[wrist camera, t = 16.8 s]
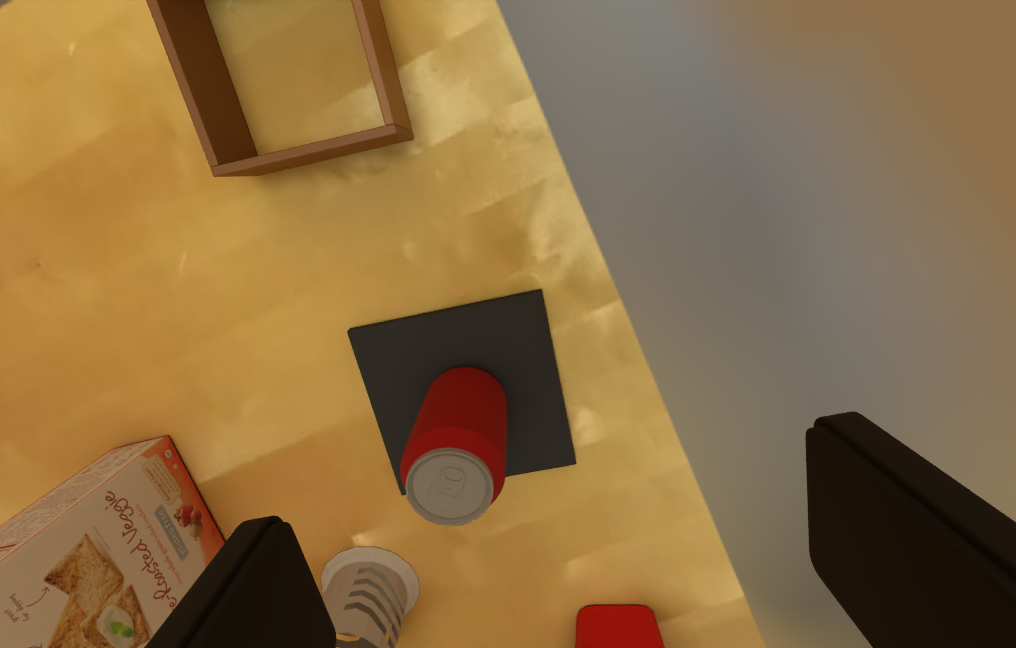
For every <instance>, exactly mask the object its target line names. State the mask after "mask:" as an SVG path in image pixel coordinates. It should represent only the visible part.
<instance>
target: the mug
mask: <svg viewBox="0 0 1016 648" xmlns="http://www.w3.org/2000/svg"><path fill="white" fill-rule="evenodd" d="M576 648H665V647H664V644H663V641H662V637H661V634H660V631H659V628H658V625H657V622H656V619H655V616H654V612H653V611H652V610H650V609H649V608H648V607H645V606H640V605H634V606H588V607H585V608H583V609H582V610H581V611H579V613H578V616H577V624H576Z"/></svg>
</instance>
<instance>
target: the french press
mask: <svg viewBox="0 0 1016 648" xmlns="http://www.w3.org/2000/svg"><path fill="white" fill-rule="evenodd" d="M321 584H322V591H323V594H324V596H323V598H322V599H323V601H324V604H325V606H326V609H327V611H328V613H329V616H330V618H331V620H332V623H333V625H334V627H335V631H336V633H338V634H342V635H347V636H359V637H360V640H357V641H351V642H347V641H343V640H338V639H336V647H341V648H396V645H397V641H398V637H399V633H400V629H401V624H402V620H403V616H404V615H405V614H406V613H408V612H409V611H410V610H411V609H413V607H414V605H415V603H416V601H417V599H418V596H419V581H418V578H417V576H416V574H415V573H414V571H413V569H412V568H411V566H410V564H408V563H407V562H406V561H404V560H403V559H402V558H400V557H399V556H398V555H396V554H395V553H392V552H389V551H386V550H383V549H380V548H377V547H354V548H352V549H349V550H346V551H343V552H340V553H338V554H337V555H336V556H335V557H333V558H332V559H331V560H330V561H329V562H328V563H327V564H326V566H325V568H324V571H323V574H322V576H321ZM391 621H393V625H392V628H391V626H390V624H389V622H391ZM386 630H387V632H388V634H389V636H390V637H389V641H388V642H387V640H386V638H385V632H386Z"/></svg>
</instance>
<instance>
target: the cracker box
mask: <svg viewBox="0 0 1016 648" xmlns="http://www.w3.org/2000/svg"><path fill="white" fill-rule="evenodd" d="M224 544H225V542H224V541H223V539H222V537H221V535H220V533H219V531H218V529H217V527H216V525H215V524H214V522H213V520H212V518H211V516H210V514H209V512H208V510H207V508H206V506H205V505H204V503H203V501H202V499H201V497H200V495H199V493H198V491H197V489H196V487H195V486H194V484H193V482H192V480H191V478H190V476H189V474H188V472H187V470H186V468H185V467H184V465H183V463H182V461H181V459H180V457H179V455H178V453H177V451H176V449H175V447H174V445H173V443H172V442H171V440H170V438H169V436H165V437H161V438H156V439H152V440H148V441H144V442H140V443H136V444H132V445H128V446H123V447H120V448H115V449H112V450H110V451H109V452H107V453H106V454H104V455H103V456H101V457H100V458H98V459H97V460H95V461H94V462H92V463H91V464H90V465H88V466H87V467H85V468H84V469H82V470H81V471H79V472H78V473H76V474H75V475H73V476H72V477H70V478H69V479H68V480H66V481H65V482H63V483H62V484H60V485H59V486H57V487H56V488H54V489H53V490H51V491H50V492H49V493H47V494H46V495H44V496H43V497H41V498H40V499H38V500H37V501H36V502H34V503H33V504H31V505H30V506H28V507H27V508H25V509H24V510H22V511H21V512H20V513H18V514H17V515H15V516H14V517H12V518H11V519H9V520H8V521H6V522H5V523H4V524H2V525H1V526H0V648H144V647H145V646H146V645H147V643H148V642H149V641H150V639H151V638H152V637H153V636H154V634H155V633H156V632H157V630H158V629H159V628H160V626H161V625H162V624H163V623H164V621H165V620H166V619H167V617H168V616H169V615H170V614H171V612H172V611H173V610H174V608H175V607H176V606H177V604H178V603H179V602H180V601H181V599H182V598H183V597H184V595H185V594H186V593H187V592H188V590H189V589H190V588H191V586H192V585H193V584H194V582H195V581H196V580H197V579H198V577H199V576H200V575H201V573H202V572H203V571H204V570H205V568H206V567H207V566H208V564H209V563H210V562H211V560H212V559H213V558H214V557H215V555H216V554H217V553H218V551H219V550H220V549H221V548H222V546H223V545H224Z"/></svg>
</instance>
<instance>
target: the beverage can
mask: <svg viewBox="0 0 1016 648" xmlns="http://www.w3.org/2000/svg"><path fill="white" fill-rule="evenodd" d="M506 442H507V400H506V395H505V392H504V390H503V388H502V386H501V385H500V384H499V382H498V381H497V380H496V379H495V378H494V377H493V376H491V375H490V374H488V373H487V372H485V371H482V370H480V369H477V368H472V367H459V368H454V369H451V370H448V371H446V372H444V373H443V374H441V375H440V376H439V377H437V378H436V379H435V380H434V382H433V383H432V384H431V386H430V388H429V390H428V392H427V395H426V397H425V399H424V402H423V404H422V407H421V409H420V412H419V414H418V417H417V419H416V422H415V424H414V427H413V430H412V432H411V435H410V438H409V440H408V443H407V446H406V448H405V451H404V454H403V457H402V460H401V465H400V474H401V480H402V483H403V486H404V488H405V490H406V495H407V498H408V501H409V503H410V505H411V506H412V507H413V509H414V510H415V511H416V512H417V513H418V514H419V515H420V516H422V517H423V518H425V519H426V520H428V521H430V522H433V523H435V524H439V525H444V526H459V525H464V524H467V523H470V522H472V521H474V520H476V519H477V518H479V517H480V516H481V515H482V514H483V513H484V512H485V511H486V510H487V509H488V507H489V506H490V505H491V504H492V503H493V502H494V501H495V500H496V498H497V497H498V495H499V494H500V492H501V490H502V488H503V485H504V481H505V469H506Z"/></svg>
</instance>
